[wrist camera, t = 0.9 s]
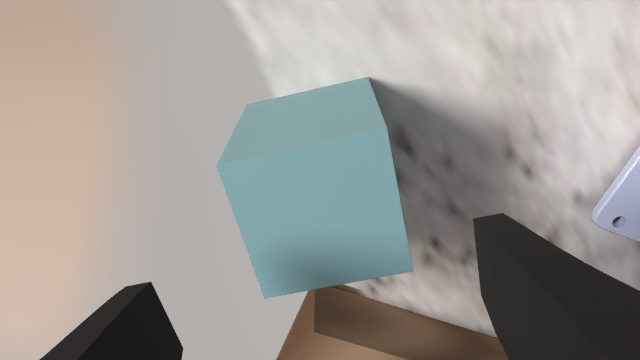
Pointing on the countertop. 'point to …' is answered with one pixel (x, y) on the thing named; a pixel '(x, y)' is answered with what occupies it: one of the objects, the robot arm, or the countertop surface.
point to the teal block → (316, 190)
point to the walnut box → (377, 332)
